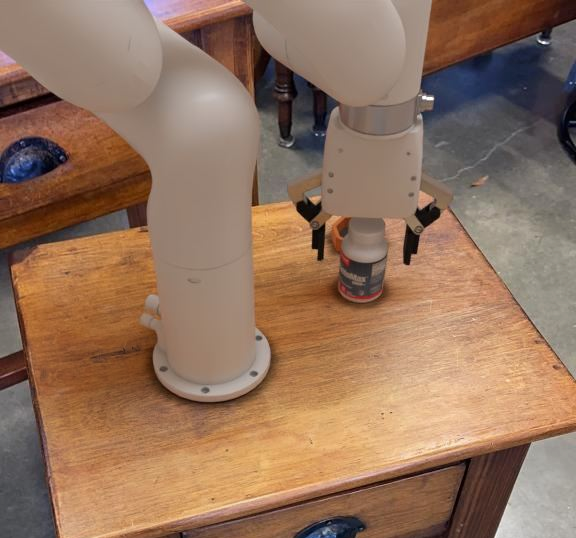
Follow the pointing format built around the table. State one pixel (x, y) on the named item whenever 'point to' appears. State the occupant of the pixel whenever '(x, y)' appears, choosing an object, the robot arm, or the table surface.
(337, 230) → the bowl
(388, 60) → the robot arm
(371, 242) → the pill bottle
